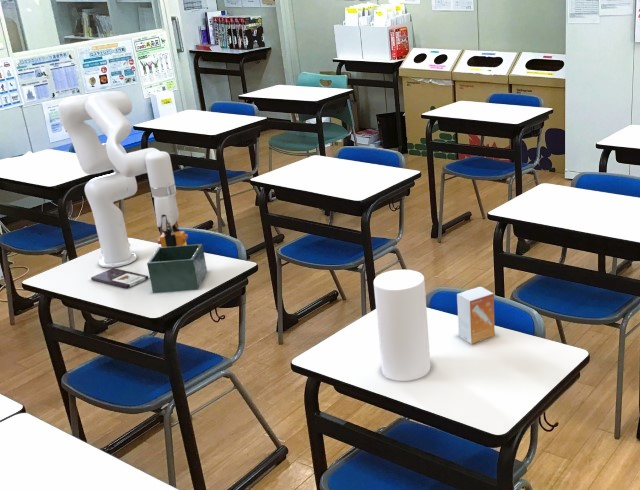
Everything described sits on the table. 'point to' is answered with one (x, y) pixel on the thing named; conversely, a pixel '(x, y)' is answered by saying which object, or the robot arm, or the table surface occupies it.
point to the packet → (179, 237)
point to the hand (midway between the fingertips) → (173, 242)
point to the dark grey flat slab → (119, 278)
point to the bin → (177, 268)
